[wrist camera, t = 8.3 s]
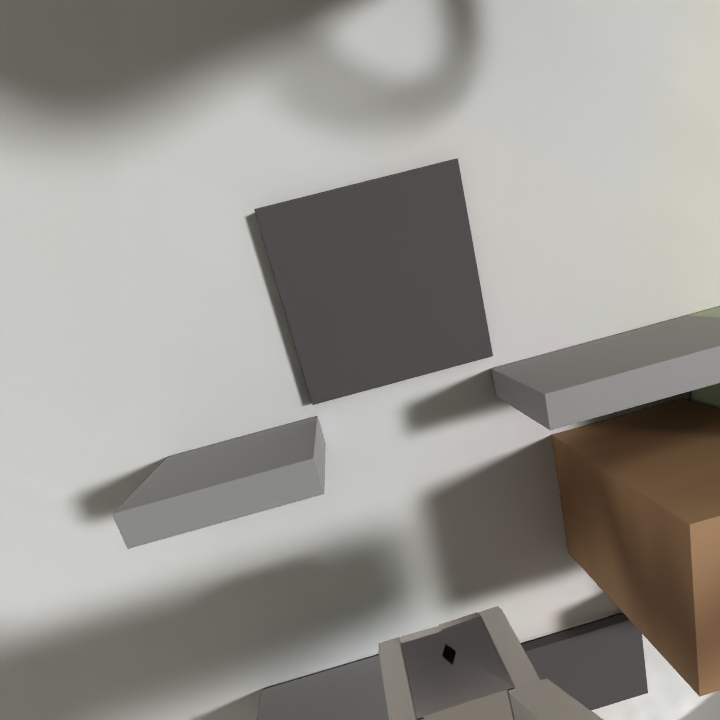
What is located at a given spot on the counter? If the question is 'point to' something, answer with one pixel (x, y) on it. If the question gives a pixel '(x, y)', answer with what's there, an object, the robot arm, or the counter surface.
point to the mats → (414, 343)
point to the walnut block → (651, 525)
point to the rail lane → (307, 468)
